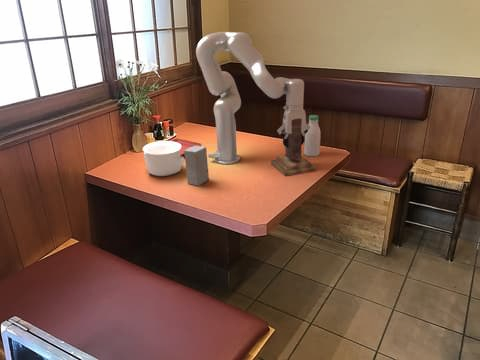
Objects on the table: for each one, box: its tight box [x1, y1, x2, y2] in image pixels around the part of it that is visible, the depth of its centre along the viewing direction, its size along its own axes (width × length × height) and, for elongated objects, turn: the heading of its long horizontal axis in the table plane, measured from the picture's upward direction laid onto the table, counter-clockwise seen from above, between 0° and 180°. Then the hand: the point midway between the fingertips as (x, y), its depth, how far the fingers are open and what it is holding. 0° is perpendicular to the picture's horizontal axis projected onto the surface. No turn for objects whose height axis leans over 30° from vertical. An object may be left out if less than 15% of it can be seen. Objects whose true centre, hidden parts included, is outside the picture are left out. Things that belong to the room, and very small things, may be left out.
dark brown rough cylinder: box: [285, 118, 302, 160], centre depth 191 cm, size 8×7×20 cm
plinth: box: [270, 155, 317, 177], centre depth 196 cm, size 16×16×4 cm
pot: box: [142, 140, 185, 177], centre depth 194 cm, size 22×17×12 cm
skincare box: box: [184, 145, 210, 187], centre depth 182 cm, size 8×7×16 cm
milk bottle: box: [303, 114, 322, 157], centre depth 207 cm, size 8×8×20 cm
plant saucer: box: [171, 137, 203, 158], centre depth 220 cm, size 18×18×3 cm
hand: (293, 144), depth 192 cm, fingers closed on dark brown rough cylinder, 7 cm apart
